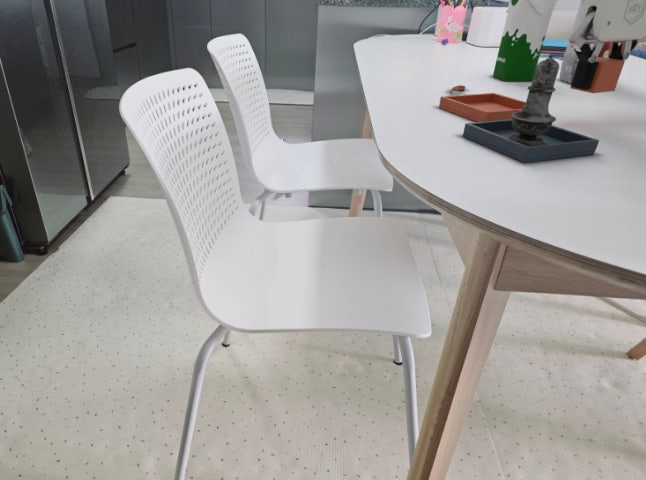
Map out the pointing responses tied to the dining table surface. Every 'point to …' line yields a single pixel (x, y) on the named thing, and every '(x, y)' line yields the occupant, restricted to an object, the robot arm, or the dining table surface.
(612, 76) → the terracotta block
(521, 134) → the carved stone statue
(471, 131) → the slate tray
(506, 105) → the terracotta tray
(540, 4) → the soya milk
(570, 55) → the juice carton
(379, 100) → the dining table surface
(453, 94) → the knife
